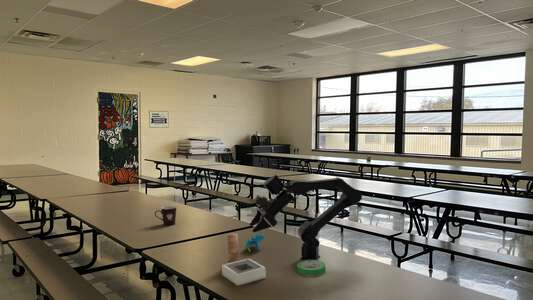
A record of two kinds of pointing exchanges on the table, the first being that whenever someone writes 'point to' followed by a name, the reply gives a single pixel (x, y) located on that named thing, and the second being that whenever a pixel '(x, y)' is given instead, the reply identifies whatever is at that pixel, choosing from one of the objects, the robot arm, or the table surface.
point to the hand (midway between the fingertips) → (251, 228)
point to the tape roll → (311, 271)
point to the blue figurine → (254, 242)
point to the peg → (232, 247)
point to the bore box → (243, 271)
